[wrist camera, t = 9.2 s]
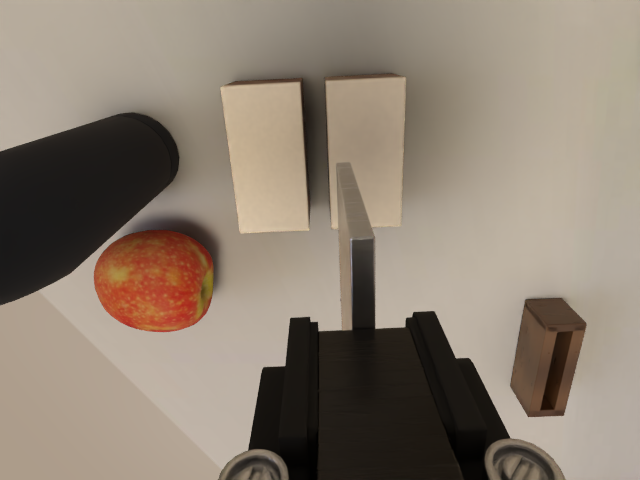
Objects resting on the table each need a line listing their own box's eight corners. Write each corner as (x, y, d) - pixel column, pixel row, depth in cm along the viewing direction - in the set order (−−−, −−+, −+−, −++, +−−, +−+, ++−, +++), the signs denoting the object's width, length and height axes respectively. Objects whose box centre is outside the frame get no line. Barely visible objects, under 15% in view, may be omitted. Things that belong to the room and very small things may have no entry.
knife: (313, 163, 17) (304, 397, 5) (372, 160, 17) (502, 388, 5) (323, 328, 20) (331, 715, 8) (373, 326, 20) (454, 710, 8)
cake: (234, 81, 31) (219, 86, 26) (302, 77, 31) (299, 82, 26) (249, 210, 35) (239, 233, 30) (310, 207, 35) (309, 230, 30)
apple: (217, 302, 39) (194, 361, 31) (124, 289, 38) (78, 346, 31) (224, 222, 35) (200, 266, 28) (122, 207, 35) (70, 248, 27)
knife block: (525, 299, 39) (547, 325, 35) (561, 297, 39) (587, 323, 35) (510, 386, 43) (528, 417, 39) (542, 384, 43) (563, 415, 39)
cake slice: (324, 76, 31) (325, 81, 26) (393, 73, 31) (406, 77, 26) (329, 206, 35) (331, 229, 30) (390, 203, 35) (401, 226, 30)
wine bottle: (182, 196, 34) (-343, 759, 7) (102, 191, 34) (-760, 752, 7) (176, 115, 32) (-690, 508, 4) (90, 109, 32) (-1382, 483, 4)
